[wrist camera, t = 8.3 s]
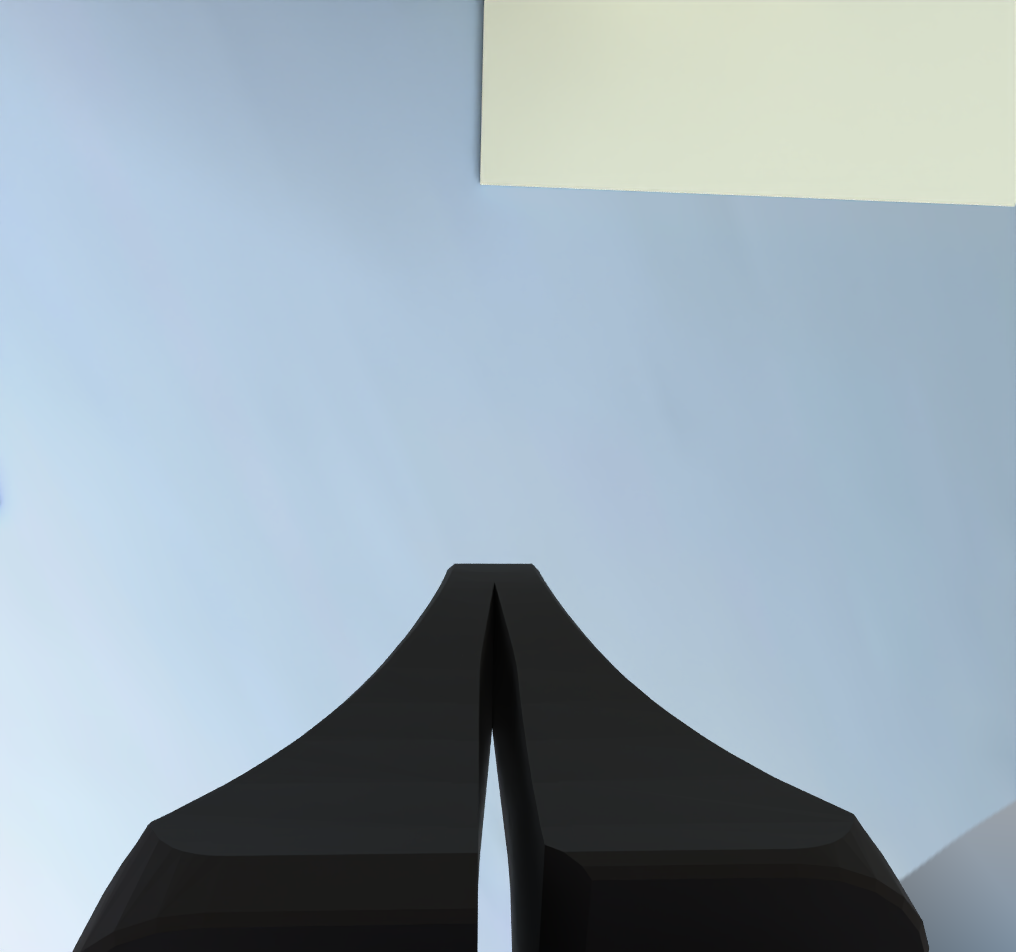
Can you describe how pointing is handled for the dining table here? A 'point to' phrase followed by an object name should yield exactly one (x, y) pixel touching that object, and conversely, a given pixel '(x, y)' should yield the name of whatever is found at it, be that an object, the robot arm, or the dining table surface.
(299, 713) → the dining table surface
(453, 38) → the dining table surface
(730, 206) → the dining table surface
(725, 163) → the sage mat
